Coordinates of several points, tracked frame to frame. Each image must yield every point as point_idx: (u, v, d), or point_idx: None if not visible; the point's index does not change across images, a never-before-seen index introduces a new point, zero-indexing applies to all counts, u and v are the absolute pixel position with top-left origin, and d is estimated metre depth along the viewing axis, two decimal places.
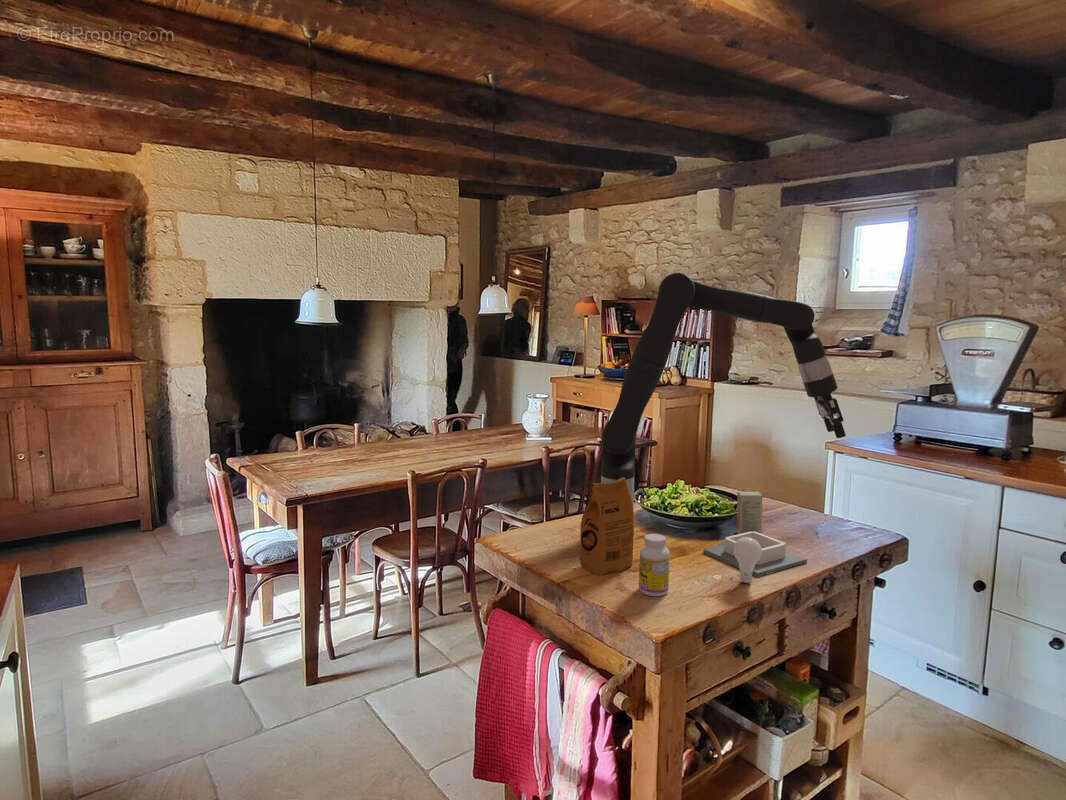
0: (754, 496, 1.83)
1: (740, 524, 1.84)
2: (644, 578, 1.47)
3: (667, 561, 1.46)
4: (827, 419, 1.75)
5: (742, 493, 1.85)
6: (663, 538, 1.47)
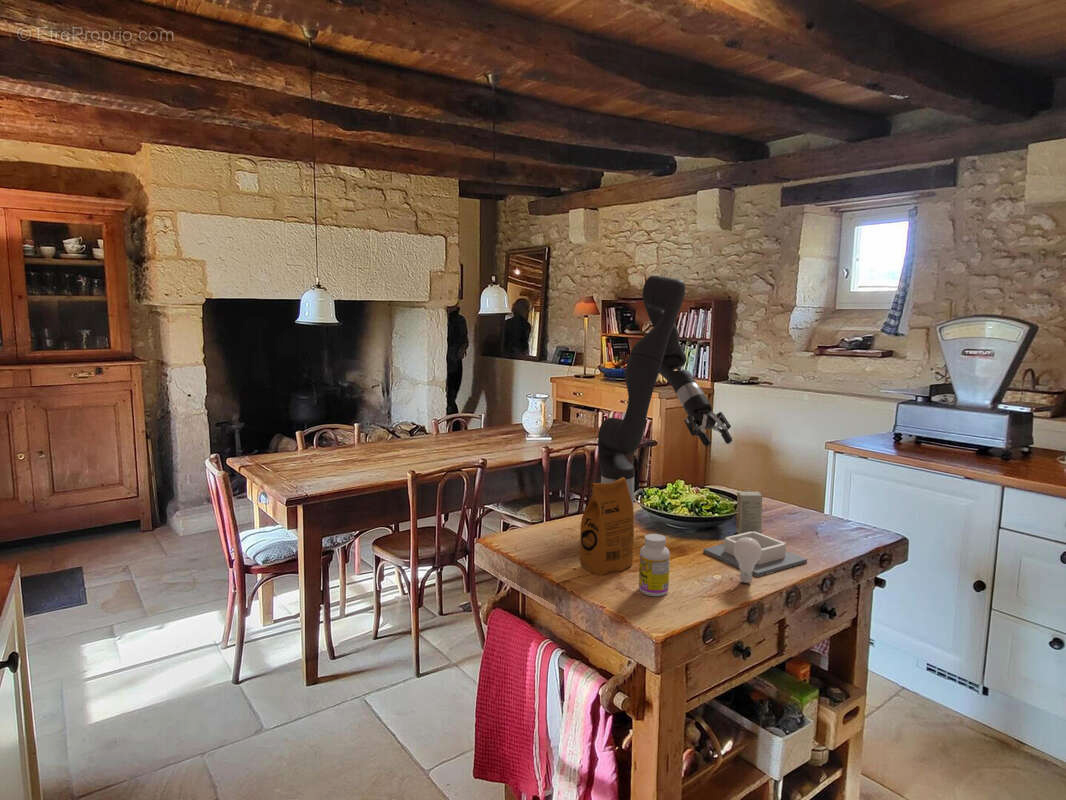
0: (754, 496, 1.83)
1: (740, 524, 1.84)
2: (644, 578, 1.47)
3: (667, 561, 1.46)
4: None
5: (742, 493, 1.85)
6: (663, 538, 1.47)
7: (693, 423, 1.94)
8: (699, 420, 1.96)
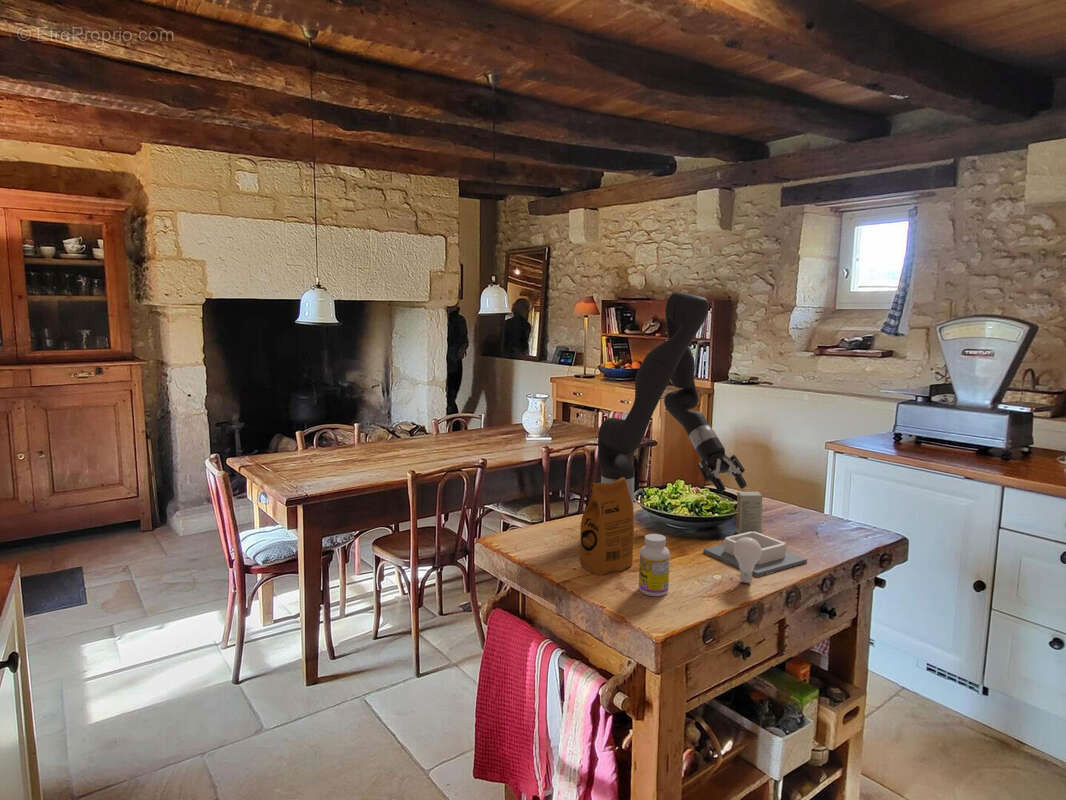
0: (754, 496, 1.83)
1: (740, 524, 1.84)
2: (644, 578, 1.47)
3: (667, 561, 1.46)
4: None
5: (742, 493, 1.85)
6: (663, 538, 1.47)
7: (707, 468, 1.90)
8: (713, 465, 1.92)
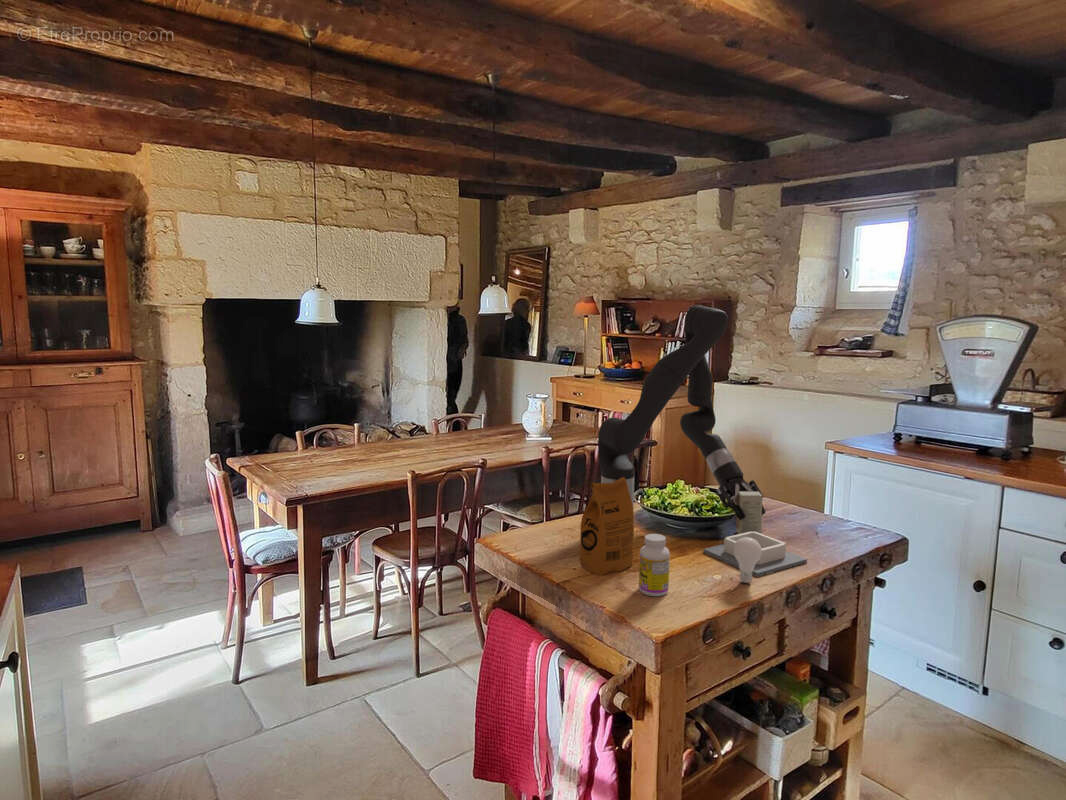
0: (754, 496, 1.83)
1: (740, 524, 1.84)
2: (644, 578, 1.47)
3: (667, 561, 1.46)
4: None
5: (742, 493, 1.85)
6: (663, 538, 1.47)
7: (726, 495, 1.84)
8: (731, 490, 1.87)
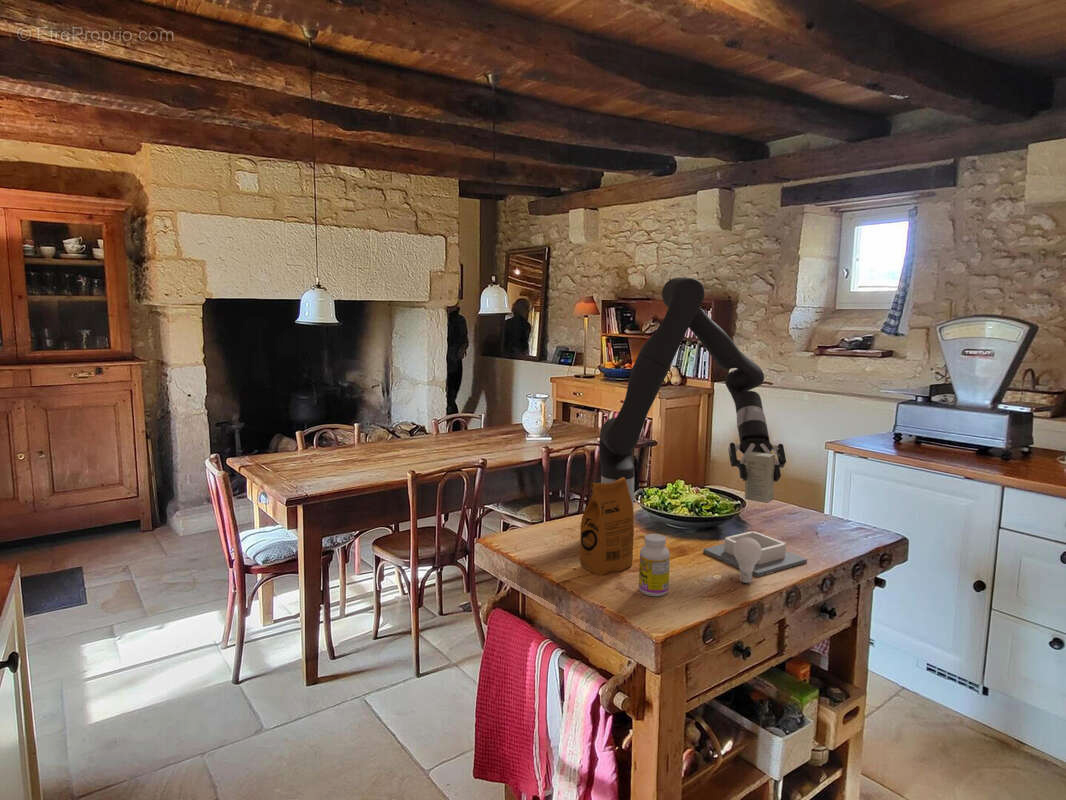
0: (760, 457, 1.66)
1: (745, 486, 1.70)
2: (644, 578, 1.47)
3: (667, 561, 1.46)
4: None
5: (752, 453, 1.69)
6: (663, 538, 1.47)
7: (733, 452, 1.72)
8: (744, 449, 1.72)
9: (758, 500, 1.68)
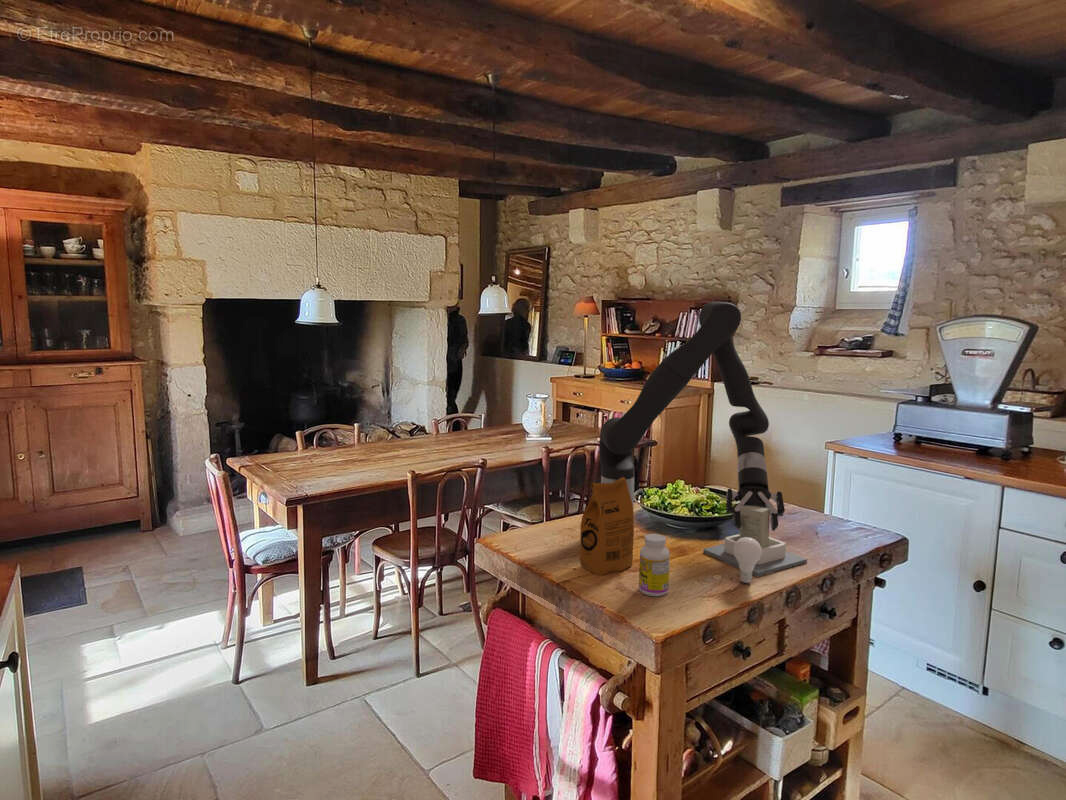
0: (754, 511, 1.66)
1: None
2: (644, 578, 1.47)
3: (667, 561, 1.46)
4: None
5: (747, 506, 1.69)
6: (663, 538, 1.47)
7: (729, 499, 1.72)
8: (741, 497, 1.72)
9: None
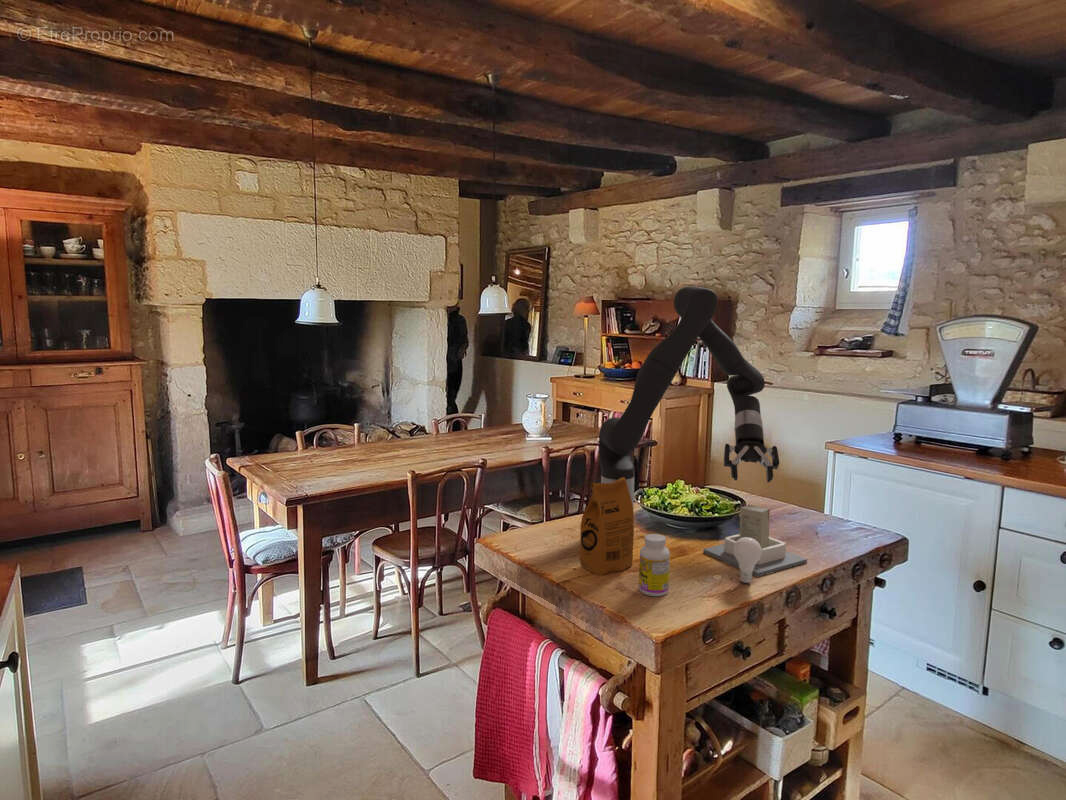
0: (754, 511, 1.66)
1: None
2: (644, 578, 1.47)
3: (667, 561, 1.46)
4: None
5: (746, 506, 1.69)
6: (663, 538, 1.47)
7: (726, 453, 1.80)
8: (738, 451, 1.80)
9: None
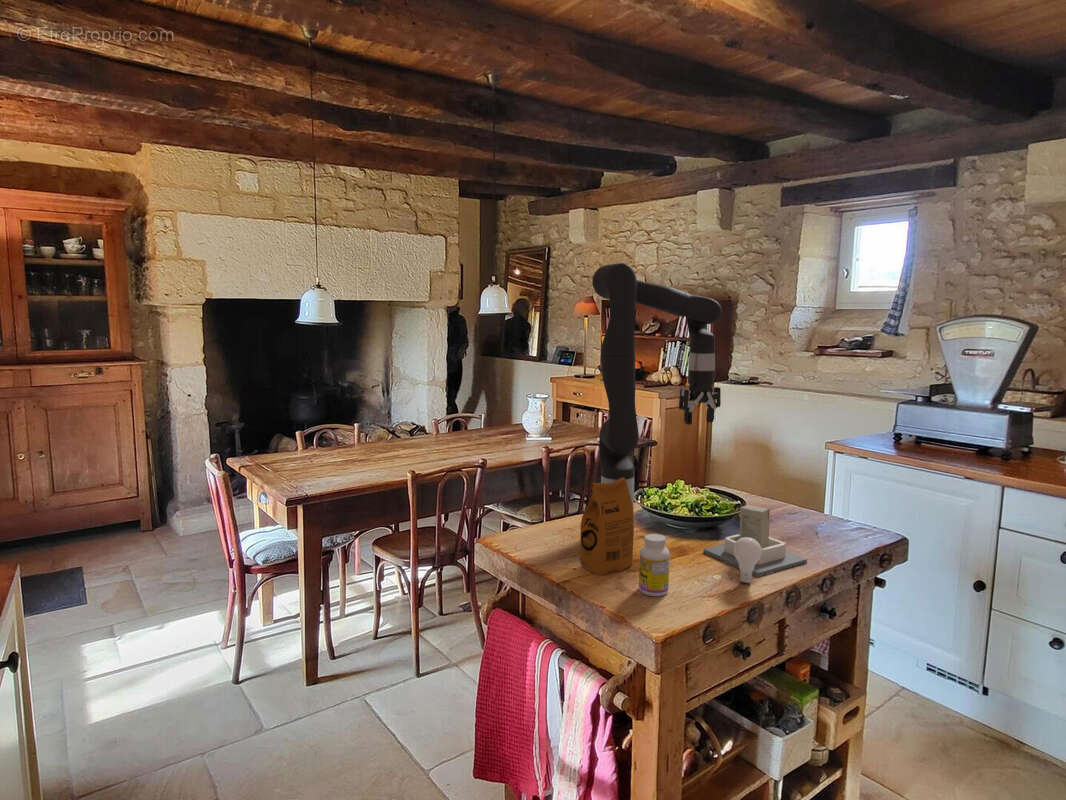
0: (754, 511, 1.66)
1: None
2: (644, 578, 1.47)
3: (667, 561, 1.46)
4: None
5: (746, 506, 1.69)
6: (663, 538, 1.47)
7: (686, 400, 1.88)
8: (694, 396, 1.90)
9: None
